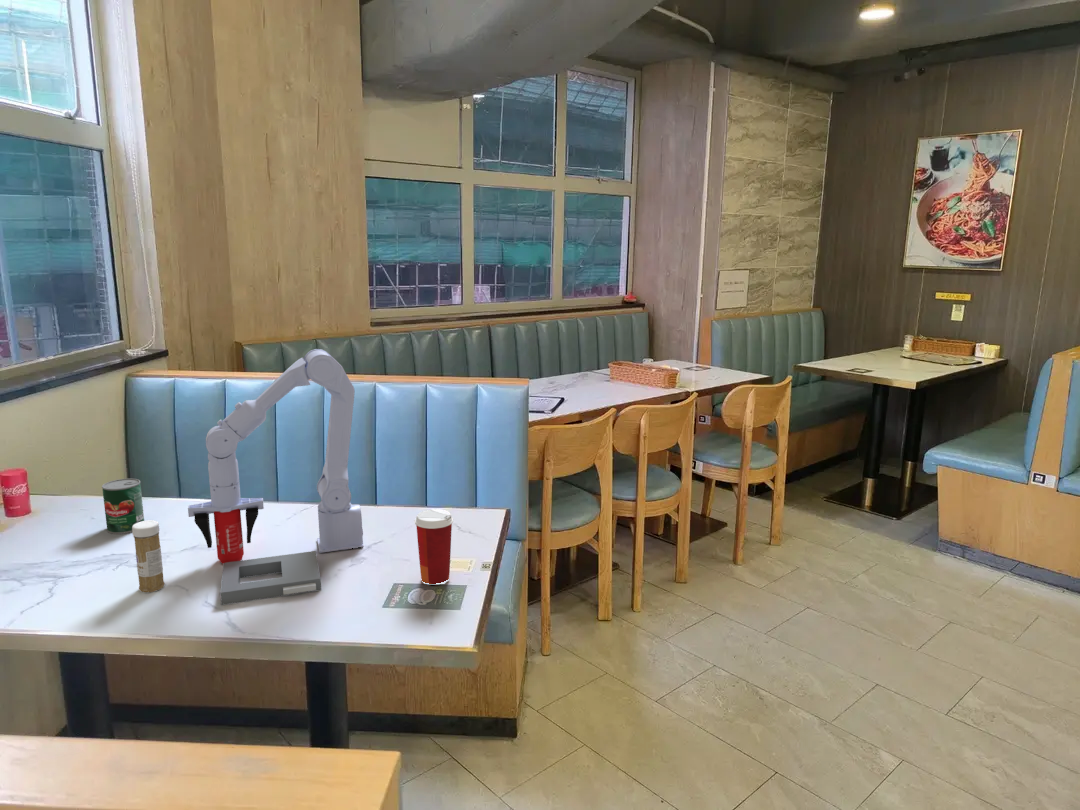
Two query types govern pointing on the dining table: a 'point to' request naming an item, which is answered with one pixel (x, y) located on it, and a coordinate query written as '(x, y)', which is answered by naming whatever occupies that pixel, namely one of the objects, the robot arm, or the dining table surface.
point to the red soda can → (229, 536)
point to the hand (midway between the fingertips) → (229, 543)
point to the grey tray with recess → (295, 579)
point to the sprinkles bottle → (148, 555)
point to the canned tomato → (122, 505)
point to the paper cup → (434, 544)
